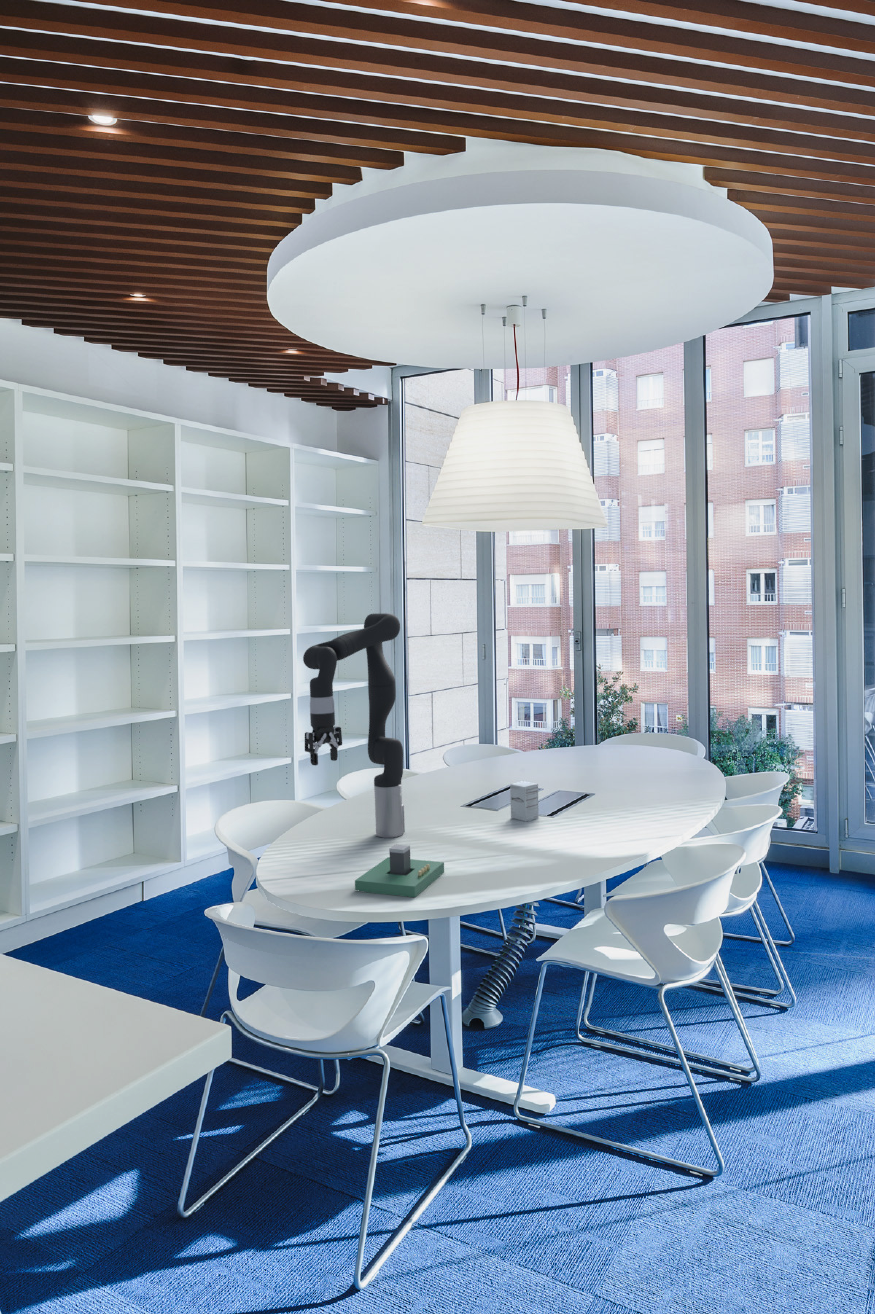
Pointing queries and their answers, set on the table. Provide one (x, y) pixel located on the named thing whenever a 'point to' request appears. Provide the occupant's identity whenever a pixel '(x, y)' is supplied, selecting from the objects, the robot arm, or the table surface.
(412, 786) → the table surface
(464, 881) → the table surface
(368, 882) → the socket board
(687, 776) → the table surface
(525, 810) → the supplement box
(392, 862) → the black plug
